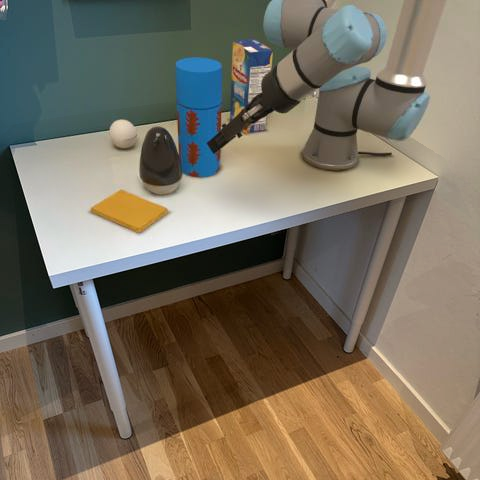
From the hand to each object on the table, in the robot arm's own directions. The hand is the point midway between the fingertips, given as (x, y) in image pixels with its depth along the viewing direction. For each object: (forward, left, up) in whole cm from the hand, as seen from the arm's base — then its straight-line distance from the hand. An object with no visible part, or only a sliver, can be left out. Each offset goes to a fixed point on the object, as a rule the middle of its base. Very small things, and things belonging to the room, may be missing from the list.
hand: (211, 147), depth 101 cm
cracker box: (-4, -48, -14) cm, 50 cm away
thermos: (+6, -18, -14) cm, 24 cm away
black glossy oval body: (+13, -5, -14) cm, 20 cm away
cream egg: (+27, -26, -14) cm, 40 cm away
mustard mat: (+18, +7, -14) cm, 24 cm away
